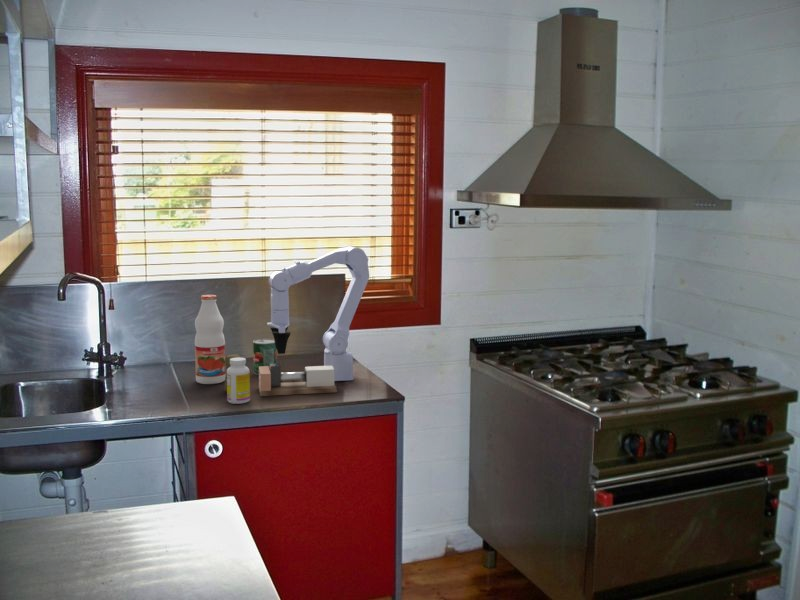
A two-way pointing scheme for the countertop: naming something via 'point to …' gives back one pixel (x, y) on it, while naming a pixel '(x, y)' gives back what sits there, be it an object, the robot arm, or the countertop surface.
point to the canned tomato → (263, 353)
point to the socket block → (264, 378)
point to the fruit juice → (209, 343)
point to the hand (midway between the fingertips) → (280, 351)
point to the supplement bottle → (238, 381)
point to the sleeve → (319, 376)
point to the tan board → (297, 389)
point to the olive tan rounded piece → (227, 362)
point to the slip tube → (285, 376)
